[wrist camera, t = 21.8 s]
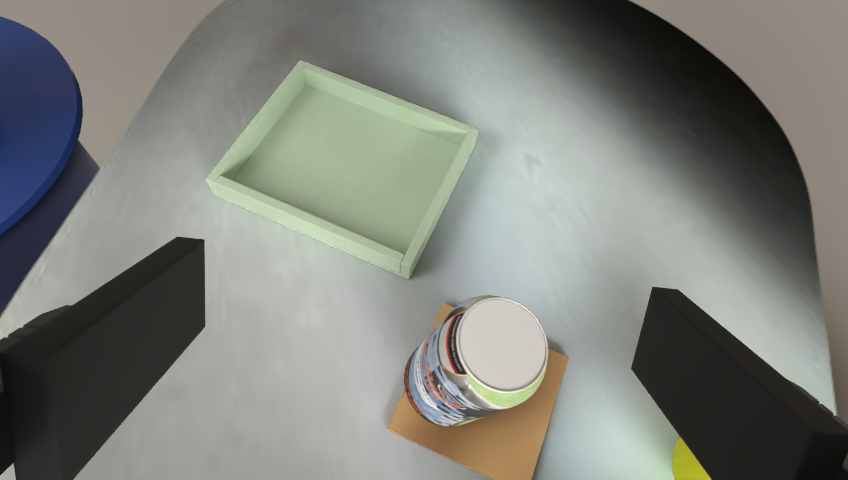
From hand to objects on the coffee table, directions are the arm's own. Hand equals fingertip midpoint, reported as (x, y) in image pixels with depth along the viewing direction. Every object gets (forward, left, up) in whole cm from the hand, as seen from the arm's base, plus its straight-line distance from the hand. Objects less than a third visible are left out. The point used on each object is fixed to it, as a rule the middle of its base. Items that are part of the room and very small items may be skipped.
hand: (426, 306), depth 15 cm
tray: (-13, +18, -23) cm, 32 cm away
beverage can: (+3, +4, -23) cm, 23 cm away
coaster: (+4, +5, -23) cm, 24 cm away
